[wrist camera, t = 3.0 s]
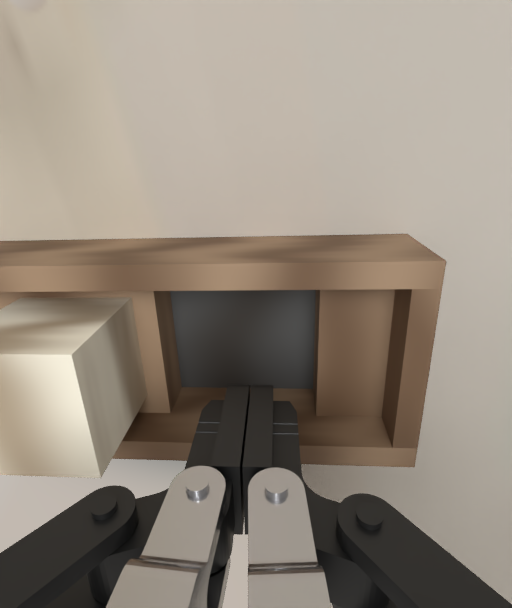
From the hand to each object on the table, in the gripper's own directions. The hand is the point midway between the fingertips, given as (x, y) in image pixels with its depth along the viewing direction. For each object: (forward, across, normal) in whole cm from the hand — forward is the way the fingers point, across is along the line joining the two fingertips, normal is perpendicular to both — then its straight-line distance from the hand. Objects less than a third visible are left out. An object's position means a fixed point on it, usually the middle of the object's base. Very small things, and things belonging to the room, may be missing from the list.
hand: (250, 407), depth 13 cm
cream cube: (+5, +8, 0) cm, 9 cm away
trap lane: (+7, +11, 0) cm, 13 cm away
